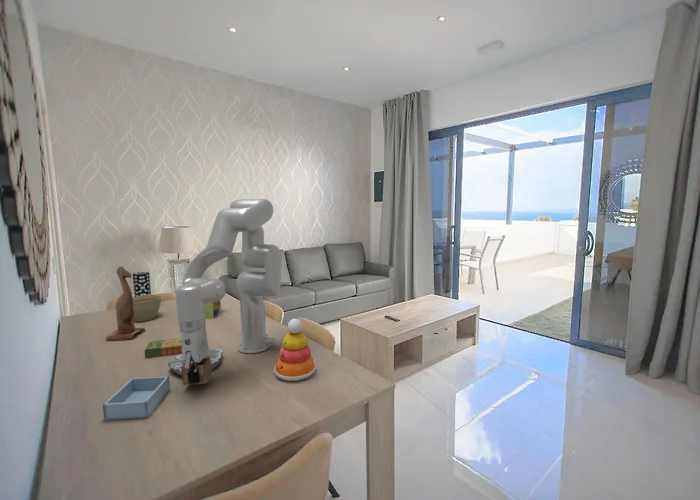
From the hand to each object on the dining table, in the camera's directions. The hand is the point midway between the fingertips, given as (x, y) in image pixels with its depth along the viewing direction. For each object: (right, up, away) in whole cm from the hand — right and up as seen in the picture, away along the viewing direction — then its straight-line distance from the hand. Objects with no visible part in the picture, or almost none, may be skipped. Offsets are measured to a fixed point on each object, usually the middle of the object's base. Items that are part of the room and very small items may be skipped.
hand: (197, 377), depth 109 cm
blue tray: (-12, -4, -10) cm, 16 cm away
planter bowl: (-58, +4, +69) cm, 90 cm away
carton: (-23, -1, +27) cm, 36 cm away
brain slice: (-7, -2, +14) cm, 15 cm away
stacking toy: (+30, -2, +8) cm, 31 cm away
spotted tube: (-73, +7, +91) cm, 117 cm away
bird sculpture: (-52, +2, +44) cm, 68 cm away
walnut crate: (0, -1, 0) cm, 1 cm away
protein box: (-30, +5, +73) cm, 79 cm away
